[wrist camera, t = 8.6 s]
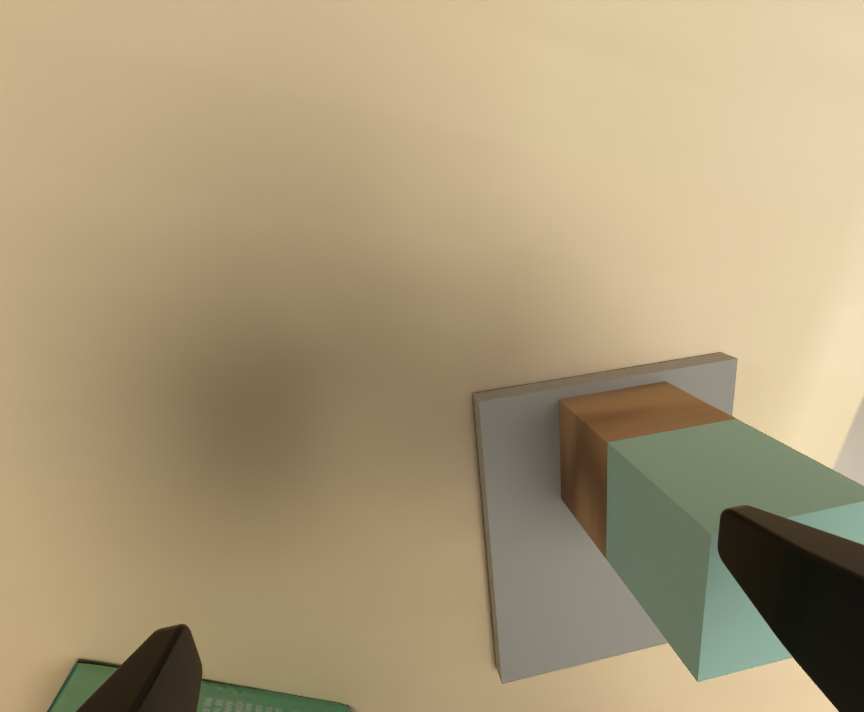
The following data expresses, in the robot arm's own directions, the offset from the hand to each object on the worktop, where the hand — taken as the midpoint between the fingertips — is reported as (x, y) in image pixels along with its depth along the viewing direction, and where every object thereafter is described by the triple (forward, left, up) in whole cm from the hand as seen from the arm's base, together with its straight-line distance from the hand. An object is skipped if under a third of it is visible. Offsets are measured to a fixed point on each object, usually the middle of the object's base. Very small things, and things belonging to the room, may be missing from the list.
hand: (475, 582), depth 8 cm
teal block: (-5, -9, -8) cm, 13 cm away
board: (-10, -9, -12) cm, 18 cm away
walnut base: (-5, -9, -12) cm, 15 cm away
